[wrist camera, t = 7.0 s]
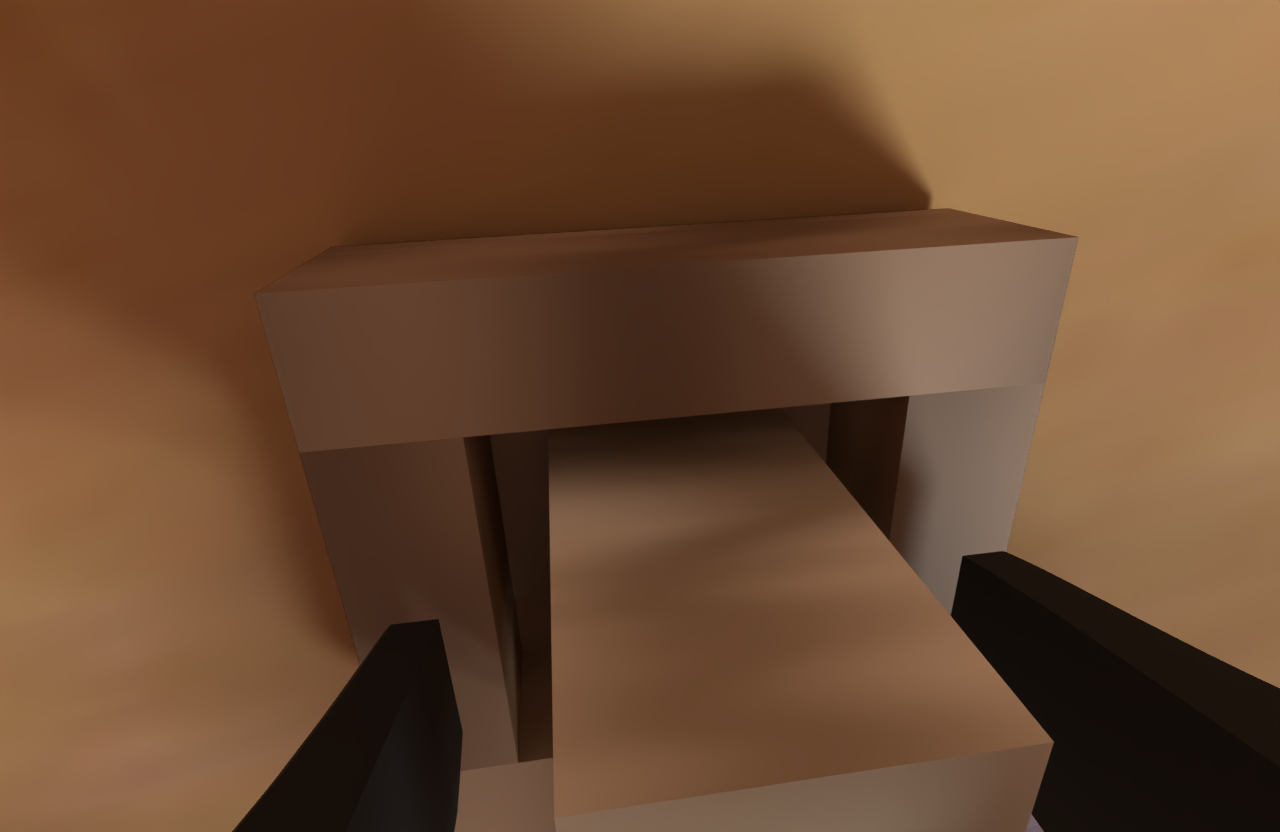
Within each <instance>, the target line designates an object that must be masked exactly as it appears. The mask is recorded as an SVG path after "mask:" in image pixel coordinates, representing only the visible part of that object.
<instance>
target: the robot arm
mask: <svg viewBox="0 0 1280 832" xmlns="http://www.w3.org/2000/svg"><path fill="white" fill-rule="evenodd" d="M951 617H952V618H953V619H954V621H955V622H956V623H957V624H958V626H959V627H960V628H961V629H962V630H963V632H964V633H965V634H966V635H967V637H968V638H969V639H970V640H971V641H972V643H973V644H974V645H975V646H976V648H977V649H978V650H979V651H980V652H981V654H982V655H983V656H984V657H985V658H986V660H987V661H988V662H989V663H990V665H991V666H992V667H993V668H994V669H995V671H996V672H997V673H998V674H999V676H1000V677H1001V678H1002V679H1003V680H1004V682H1005V683H1006V684H1007V685H1008V687H1009V688H1010V689H1011V690H1012V691H1013V693H1014V694H1015V695H1016V696H1017V698H1018V699H1019V700H1020V701H1021V702H1022V704H1023V705H1024V706H1025V707H1026V709H1027V710H1028V711H1029V712H1030V713H1031V715H1032V716H1033V717H1034V718H1035V719H1036V721H1037V722H1038V723H1039V724H1040V726H1041V727H1042V728H1043V729H1044V730H1045V732H1046V733H1047V734H1048V735H1049V737H1050V738H1051V739H1052V740H1053V741H1054V743H1053V747H1052V750H1051V753H1050V756H1049V759H1048V762H1047V766H1046V769H1045V772H1044V775H1043V778H1042V781H1041V785H1040V788H1039V791H1038V794H1037V797H1036V800H1035V804H1034V807H1033V810H1032V813H1031V816H1030V820H1029V823H1028V826H1027V829H1026V832H1280V688H1278V687H1275V686H1273V685H1271V684H1269V683H1267V682H1265V681H1263V680H1261V679H1258V678H1256V677H1254V676H1252V675H1250V674H1248V673H1246V672H1244V671H1241V670H1239V669H1237V668H1235V667H1233V666H1231V665H1229V664H1227V663H1225V662H1223V661H1221V660H1219V659H1217V658H1215V657H1213V656H1211V655H1209V654H1207V653H1205V652H1203V651H1201V650H1199V649H1197V648H1195V647H1193V646H1191V645H1189V644H1187V643H1185V642H1183V641H1181V640H1179V639H1177V638H1175V637H1173V636H1171V635H1169V634H1167V633H1165V632H1163V631H1161V630H1160V629H1158V628H1156V627H1154V626H1152V625H1150V624H1148V623H1146V622H1144V621H1142V620H1140V619H1138V618H1136V617H1134V616H1132V615H1130V614H1129V613H1127V612H1125V611H1123V610H1121V609H1119V608H1117V607H1115V606H1113V605H1111V604H1109V603H1107V602H1105V601H1104V600H1102V599H1100V598H1098V597H1096V596H1094V595H1092V594H1090V593H1088V592H1086V591H1084V590H1082V589H1080V588H1079V587H1077V586H1075V585H1073V584H1071V583H1069V582H1067V581H1065V580H1063V579H1061V578H1059V577H1057V576H1055V575H1053V574H1051V573H1049V572H1047V571H1045V570H1043V569H1041V568H1039V567H1037V566H1035V565H1033V564H1031V563H1029V562H1027V561H1025V560H1023V559H1020V558H1018V557H1016V556H1014V555H1011V554H1009V553H1007V552H1005V551H998V552H990V553H981V554H973V555H965V556H962V561H961V566H960V571H959V576H958V581H957V586H956V591H955V596H954V601H953V606H952V611H951ZM462 738H463V730H462V726H461V721H460V716H459V712H458V707H457V702H456V698H455V693H454V688H453V684H452V679H451V674H450V670H449V665H448V660H447V655H446V651H445V646H444V641H443V637H442V632H441V627H440V623H439V619H433V620H425V621H417V622H409V623H400V624H392V625H390V626H389V627H388V628H387V629H386V630H385V631H384V632H383V634H382V635H381V636H380V638H379V639H378V641H377V642H376V643H375V645H374V646H373V648H372V649H371V650H370V652H369V653H368V655H367V656H366V658H365V659H364V660H363V662H362V663H361V665H360V666H359V667H358V669H357V670H356V672H355V673H354V675H353V676H352V677H351V679H350V680H349V682H348V683H347V684H346V686H345V687H344V689H343V690H342V691H341V693H340V694H339V695H338V697H337V698H336V699H335V701H334V702H333V704H332V705H331V706H330V708H329V709H328V710H327V712H326V713H325V715H324V716H323V717H322V719H321V720H320V721H319V723H318V724H317V725H316V727H315V728H314V729H313V731H312V732H311V733H310V734H309V736H308V737H307V738H306V740H305V741H304V742H303V744H302V745H301V746H300V748H299V749H298V750H297V751H296V753H295V754H294V755H293V757H292V758H291V759H290V761H289V762H288V763H287V765H286V766H285V767H284V769H283V770H282V771H281V772H280V774H279V775H278V776H277V778H276V779H275V780H274V781H273V783H272V784H271V785H270V786H269V788H268V789H267V790H266V791H265V793H264V794H263V795H262V796H261V798H260V799H259V800H258V801H257V802H256V804H255V805H254V806H253V807H252V808H251V810H250V811H249V812H248V813H247V814H246V816H245V817H244V818H243V819H242V821H241V822H240V823H239V824H238V825H237V827H236V828H235V829H234V830H233V831H232V832H454V831H455V825H456V819H457V812H458V798H459V785H460V771H461V754H462Z"/></svg>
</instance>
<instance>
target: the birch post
mask: <svg viewBox="0 0 1280 832" xmlns="http://www.w3.org/2000/svg"><path fill="white" fill-rule="evenodd" d="M548 454H549V519H550V584H551V648H552V713H553V778H554V821H555V828H556V832H1026V829H1027V826H1028V823H1029V820H1030V816H1031V813H1032V810H1033V807H1034V804H1035V800H1036V797H1037V794H1038V791H1039V788H1040V785H1041V781H1042V778H1043V775H1044V772H1045V769H1046V766H1047V762H1048V759H1049V756H1050V753H1051V750H1052V747H1053V743H1054V741H1053V740H1052V739H1051V738H1050V737H1049V735H1048V734H1047V733H1046V732H1045V730H1044V729H1043V728H1042V727H1041V726H1040V724H1039V723H1038V722H1037V721H1036V719H1035V718H1034V717H1033V716H1032V715H1031V713H1030V712H1029V711H1028V710H1027V709H1026V707H1025V706H1024V705H1023V704H1022V702H1021V701H1020V700H1019V699H1018V698H1017V696H1016V695H1015V694H1014V693H1013V691H1012V690H1011V689H1010V688H1009V687H1008V685H1007V684H1006V683H1005V682H1004V680H1003V679H1002V678H1001V677H1000V676H999V674H998V673H997V672H996V671H995V669H994V668H993V667H992V666H991V665H990V663H989V662H988V661H987V660H986V658H985V657H984V656H983V655H982V654H981V652H980V651H979V650H978V649H977V648H976V646H975V645H974V644H973V643H972V641H971V640H970V639H969V638H968V637H967V635H966V634H965V633H964V632H963V630H962V629H961V628H960V627H959V626H958V624H957V623H956V622H955V621H954V619H953V618H952V617H951V616H950V615H949V613H948V612H947V611H946V610H945V608H944V607H943V606H942V605H941V604H940V602H939V601H938V600H937V599H936V597H935V596H934V595H933V594H932V593H931V591H930V590H929V589H928V588H927V587H926V585H925V584H924V583H923V582H922V580H921V579H920V578H919V577H918V576H917V574H916V573H915V572H914V571H913V569H912V568H911V567H910V566H909V565H908V563H907V562H906V561H905V560H904V558H903V557H902V556H901V555H900V554H899V552H898V551H897V550H896V549H895V547H894V546H893V545H892V544H891V543H890V541H889V540H888V539H887V538H886V536H885V535H884V534H883V533H882V532H881V530H880V529H879V528H878V527H877V526H876V524H875V523H874V522H873V521H872V519H871V518H870V517H869V516H868V515H867V513H866V512H865V511H864V510H863V508H862V507H861V506H860V505H859V504H858V502H857V501H856V500H855V499H854V497H853V496H852V495H851V494H850V493H849V491H848V490H847V489H846V488H845V486H844V485H843V484H842V483H841V482H840V480H839V479H838V478H837V477H836V475H835V474H834V473H833V472H832V471H831V469H830V468H829V467H828V466H827V465H826V463H825V462H824V461H823V460H822V458H821V457H820V456H819V455H818V454H817V452H816V451H815V450H814V449H813V447H812V446H811V445H810V444H809V443H808V441H807V440H806V439H805V438H804V436H803V435H802V434H801V433H800V432H799V430H798V429H797V428H796V427H795V425H794V424H793V423H792V422H791V421H790V419H789V418H788V417H787V416H786V414H785V413H784V412H783V411H782V410H781V408H772V409H762V410H751V411H740V412H729V413H719V414H708V415H697V416H686V417H676V418H665V419H654V420H644V421H633V422H622V423H611V424H601V425H590V426H579V427H568V428H558V429H548Z"/></svg>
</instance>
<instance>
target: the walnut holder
mask: <svg viewBox="0 0 1280 832" xmlns="http://www.w3.org/2000/svg"><path fill="white" fill-rule="evenodd" d="M1078 238H1079V237H1076V236H1071V235H1067V234H1062V233H1058V232H1053V231H1049V230H1044V229H1040V228H1035V227H1030V226H1026V225H1021V224H1017V223H1012V222H1008V221H1003V220H999V219H994V218H990V217H985V216H981V215H976V214H972V213H967V212H962V211H958V210H953V209H949V208H945V209H929V210H913V211H897V212H881V213H865V214H849V215H833V216H817V217H801V218H785V219H770V220H754V221H738V222H722V223H706V224H690V225H674V226H658V227H642V228H626V229H610V230H594V231H578V232H562V233H546V234H530V235H514V236H498V237H482V238H466V239H450V240H434V241H418V242H402V243H386V244H370V245H354V246H338V247H330V248H329V249H327V250H325V251H324V252H322V253H320V254H319V255H317V256H316V257H314V258H312V259H311V260H309V261H307V262H306V263H304V264H302V265H301V266H299V267H297V268H296V269H294V270H292V271H291V272H289V273H287V274H286V275H284V276H282V277H281V278H279V279H277V280H276V281H274V282H272V283H271V284H269V285H267V286H266V287H264V288H262V289H261V290H259V291H258V292H256V293H254V297H255V301H256V304H257V308H258V311H259V315H260V318H261V322H262V325H263V329H264V332H265V336H266V339H267V343H268V346H269V350H270V353H271V357H272V360H273V364H274V367H275V370H276V374H277V377H278V381H279V384H280V388H281V391H282V395H283V398H284V402H285V405H286V409H287V412H288V416H289V419H290V423H291V426H292V430H293V433H294V437H295V440H296V444H297V447H298V450H299V454H300V457H301V461H302V464H303V468H304V471H305V475H306V478H307V482H308V485H309V489H310V492H311V496H312V499H313V503H314V506H315V510H316V513H317V517H318V520H319V524H320V527H321V531H322V534H323V537H324V541H325V544H326V548H327V551H328V555H329V558H330V562H331V565H332V569H333V572H334V576H335V579H336V583H337V586H338V590H339V593H340V597H341V600H342V604H343V607H344V611H345V614H346V617H347V621H348V624H349V628H350V631H351V635H352V638H353V642H354V645H355V649H356V652H357V656H358V659H359V663H360V665H361V663H362V662H363V660H364V659H365V658H366V656H367V655H368V653H369V652H370V650H371V649H372V648H373V646H374V645H375V643H376V642H377V641H378V639H379V638H380V636H381V635H382V634H383V632H384V631H385V630H386V629H387V628H388V627H389V626H390V625H392V624H400V623H409V622H417V621H425V620H433V619H439V623H440V627H441V632H442V637H443V641H444V646H445V651H446V655H447V660H448V665H449V670H450V674H451V679H452V684H453V688H454V693H455V698H456V702H457V707H458V712H459V716H460V721H461V726H462V730H463V738H462V754H461V771H460V785H459V798H458V812H457V819H456V825H455V831H454V832H556V828H555V821H554V778H553V713H552V648H551V584H550V519H549V454H548V429H558V428H568V427H579V426H590V425H601V424H611V423H622V422H633V421H644V420H654V419H665V418H676V417H686V416H697V415H708V414H719V413H729V412H740V411H751V410H762V409H772V408H781V410H782V411H783V412H784V413H785V414H786V416H787V417H788V418H789V419H790V421H791V422H792V423H793V424H794V425H795V427H796V428H797V429H798V430H799V432H800V433H801V434H802V435H803V436H804V438H805V439H806V440H807V441H808V443H809V444H810V445H811V446H812V447H813V449H814V450H815V451H816V452H817V454H818V455H819V456H820V457H821V458H822V460H823V461H824V462H825V463H826V465H827V466H828V467H829V468H830V469H831V471H832V472H833V473H834V474H835V475H836V477H837V478H838V479H839V480H840V482H841V483H842V484H843V485H844V486H845V488H846V489H847V490H848V491H849V493H850V494H851V495H852V496H853V497H854V499H855V500H856V501H857V502H858V504H859V505H860V506H861V507H862V508H863V510H864V511H865V512H866V513H867V515H868V516H869V517H870V518H871V519H872V521H873V522H874V523H875V524H876V526H877V527H878V528H879V529H880V530H881V532H882V533H883V534H884V535H885V536H886V538H887V539H888V540H889V541H890V543H891V544H892V545H893V546H894V547H895V549H896V550H897V551H898V552H899V554H900V555H901V556H902V557H903V558H904V560H905V561H906V562H907V563H908V565H909V566H910V567H911V568H912V569H913V571H914V572H915V573H916V574H917V576H918V577H919V578H920V579H921V580H922V582H923V583H924V584H925V585H926V587H927V588H928V589H929V590H930V591H931V593H932V594H933V595H934V596H935V597H936V599H937V600H938V601H939V602H940V604H941V605H942V606H943V607H944V608H945V610H946V611H947V612H948V613H949V615H950V616H951V611H952V606H953V601H954V596H955V591H956V586H957V581H958V576H959V571H960V566H961V561H962V556H965V555H973V554H981V553H990V552H998V551H1005V552H1006V551H1007V546H1008V542H1009V538H1010V533H1011V529H1012V524H1013V520H1014V516H1015V511H1016V507H1017V503H1018V498H1019V494H1020V490H1021V485H1022V481H1023V477H1024V472H1025V468H1026V464H1027V459H1028V455H1029V451H1030V446H1031V442H1032V438H1033V433H1034V429H1035V424H1036V420H1037V416H1038V411H1039V407H1040V403H1041V398H1042V394H1043V390H1044V385H1045V381H1046V377H1047V372H1048V368H1049V364H1050V359H1051V355H1052V351H1053V346H1054V342H1055V338H1056V333H1057V329H1058V324H1059V320H1060V316H1061V311H1062V307H1063V303H1064V298H1065V294H1066V290H1067V285H1068V281H1069V277H1070V272H1071V268H1072V264H1073V259H1074V255H1075V251H1076V246H1077V242H1078Z"/></svg>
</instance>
